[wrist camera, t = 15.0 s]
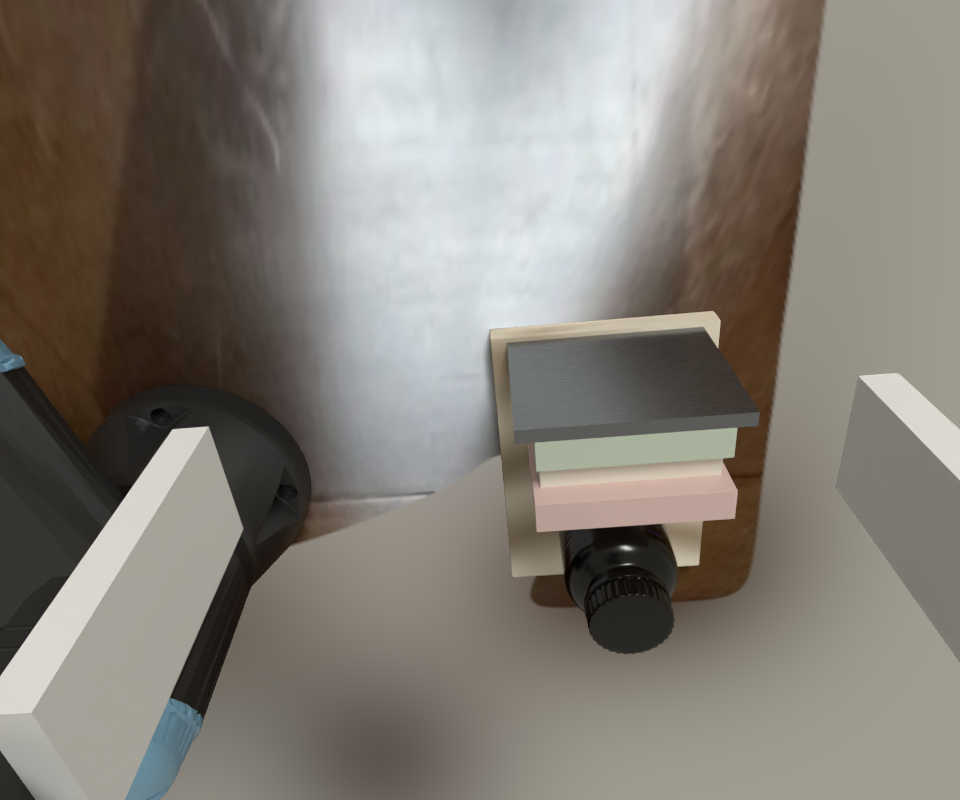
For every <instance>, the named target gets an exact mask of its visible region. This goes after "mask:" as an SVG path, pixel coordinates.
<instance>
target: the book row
mask: <svg viewBox="0 0 960 800" xmlns="http://www.w3.org/2000/svg"><path fill="white" fill-rule="evenodd" d="M736 436H737V428H724V429H711V430H698V431H684V432H671V433H658V434H644V435H631V436H617V437H604V438H591V439H577V440H564V441H551V442H537V443H528V452H529V462H530V471H531V481H532V491H533V500H534V510H535V520H536V529H537V532H548V531H562V530H577V529H591V528H606V527H620V526H635V525H649V524H664V523H678V522H693V521H707V520H722V519H735V511H736V503H737V495H738V491H737V489H736V487H735V485H734V483H733V481H732V479H731V477H730V475H729V473H728V471H727V469H726V467H725V465H724V463H723V458H732V457H734V454H735V445H736Z"/></svg>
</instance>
